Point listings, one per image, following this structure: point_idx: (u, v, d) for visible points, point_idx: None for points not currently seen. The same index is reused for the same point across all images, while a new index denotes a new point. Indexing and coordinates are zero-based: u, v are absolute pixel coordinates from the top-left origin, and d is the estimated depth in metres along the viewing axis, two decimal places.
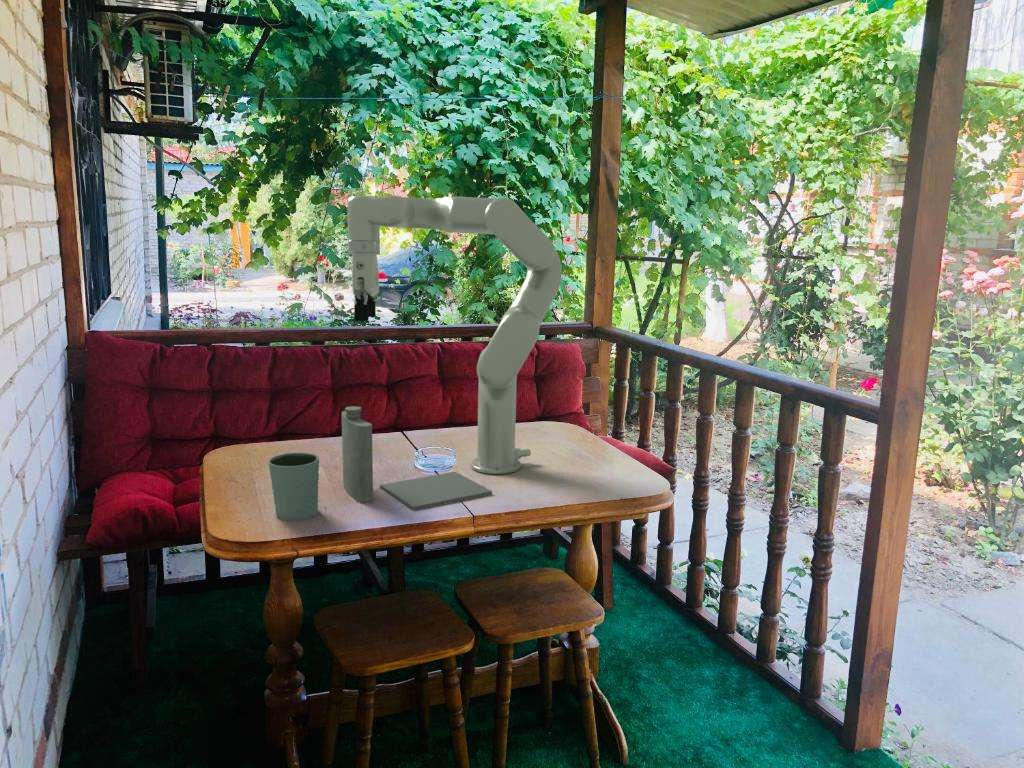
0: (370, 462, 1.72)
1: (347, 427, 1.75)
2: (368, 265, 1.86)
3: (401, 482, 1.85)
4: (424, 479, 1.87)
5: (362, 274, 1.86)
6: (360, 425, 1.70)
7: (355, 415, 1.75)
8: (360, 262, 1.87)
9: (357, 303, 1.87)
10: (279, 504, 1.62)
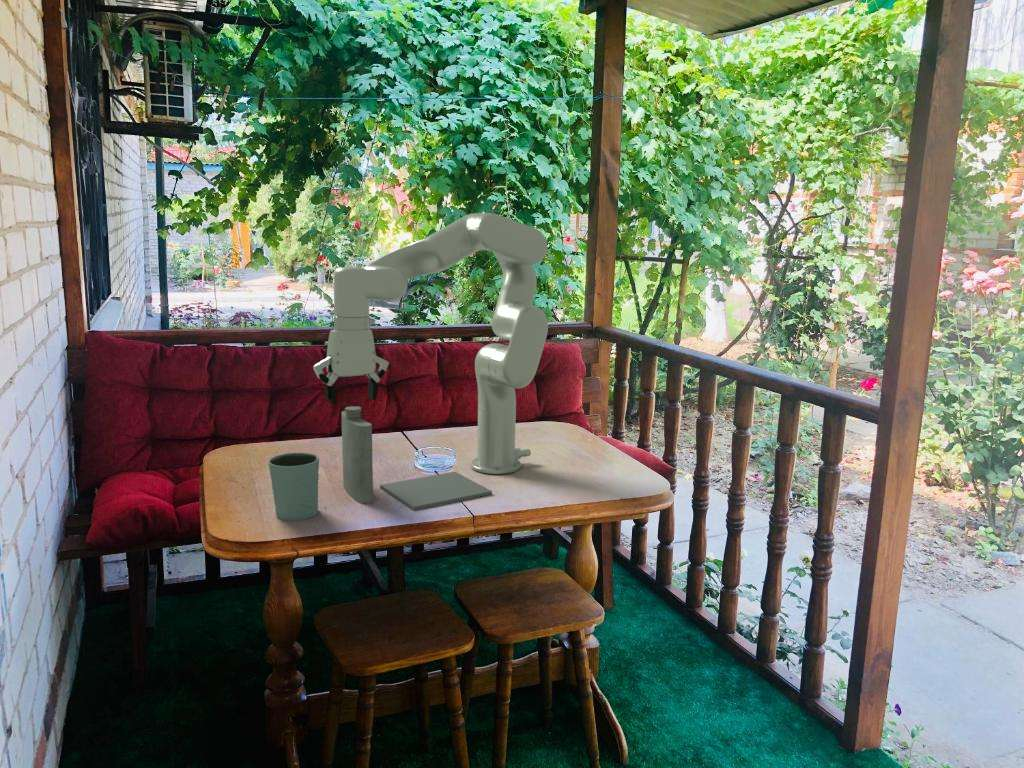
0: (370, 462, 1.72)
1: (347, 427, 1.75)
2: None
3: (401, 482, 1.85)
4: (424, 479, 1.87)
5: None
6: (360, 425, 1.70)
7: (355, 415, 1.75)
8: None
9: None
10: (279, 504, 1.62)
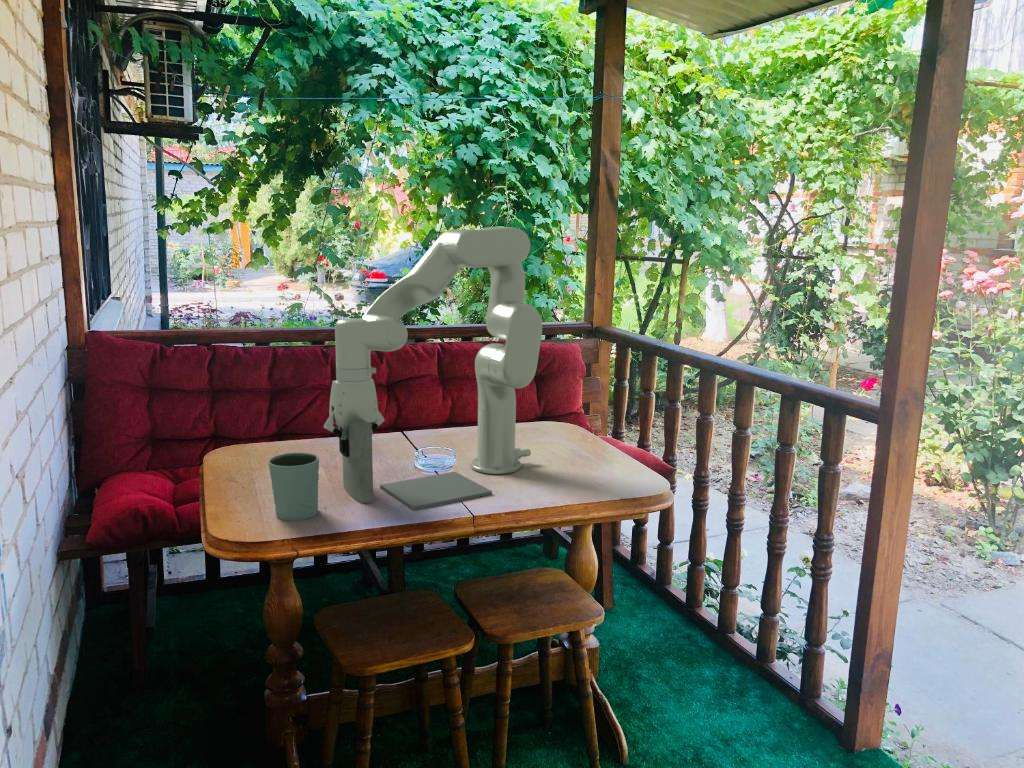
0: (370, 462, 1.72)
1: None
2: None
3: (401, 482, 1.85)
4: (424, 479, 1.87)
5: None
6: (360, 425, 1.70)
7: None
8: None
9: None
10: (279, 504, 1.62)
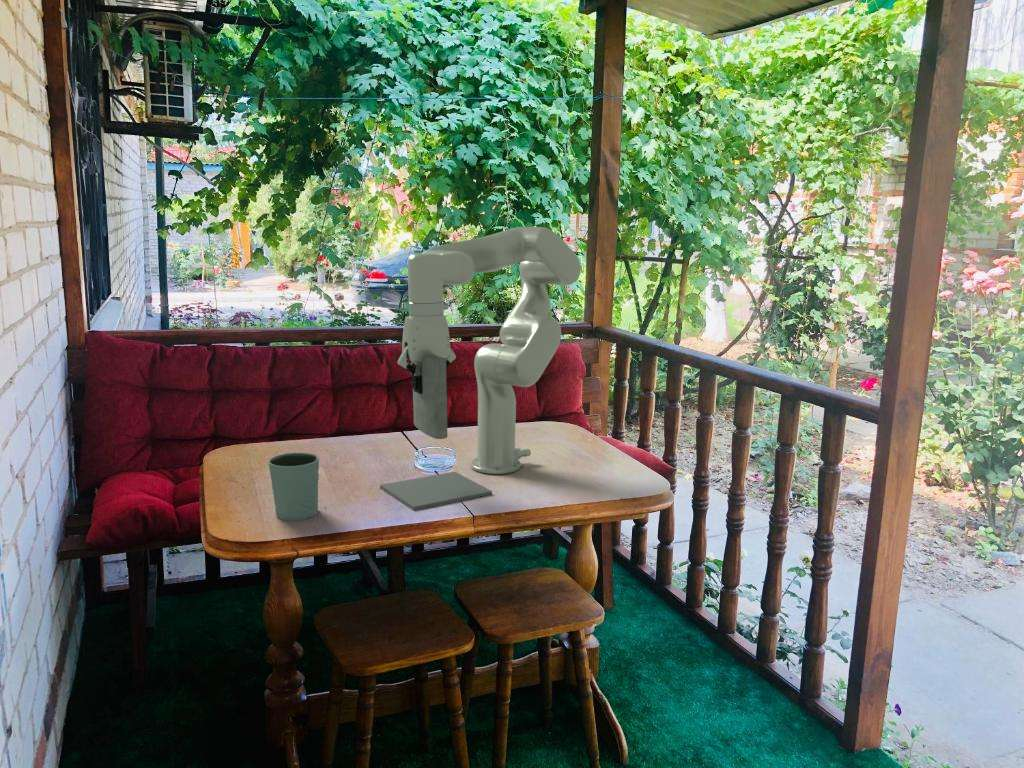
0: (445, 397, 1.71)
1: None
2: None
3: (401, 482, 1.85)
4: (424, 479, 1.87)
5: None
6: (434, 359, 1.69)
7: None
8: None
9: None
10: (279, 504, 1.62)
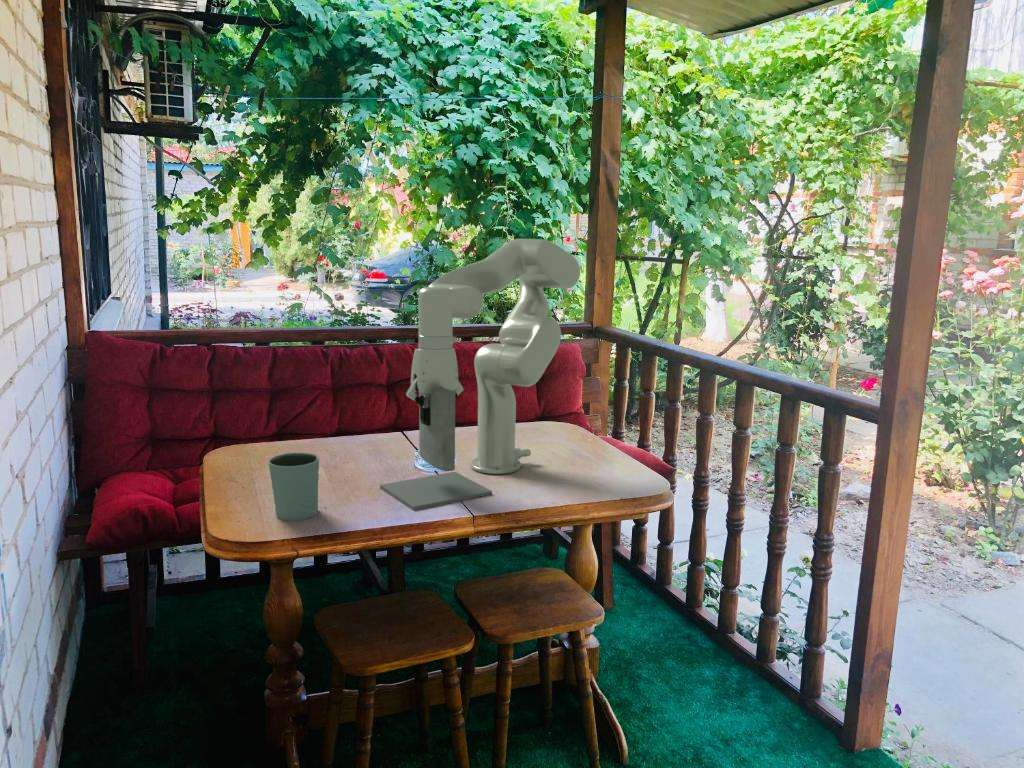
0: (453, 429, 1.72)
1: None
2: None
3: (401, 482, 1.85)
4: (424, 479, 1.87)
5: None
6: (444, 392, 1.70)
7: None
8: None
9: None
10: (279, 504, 1.62)
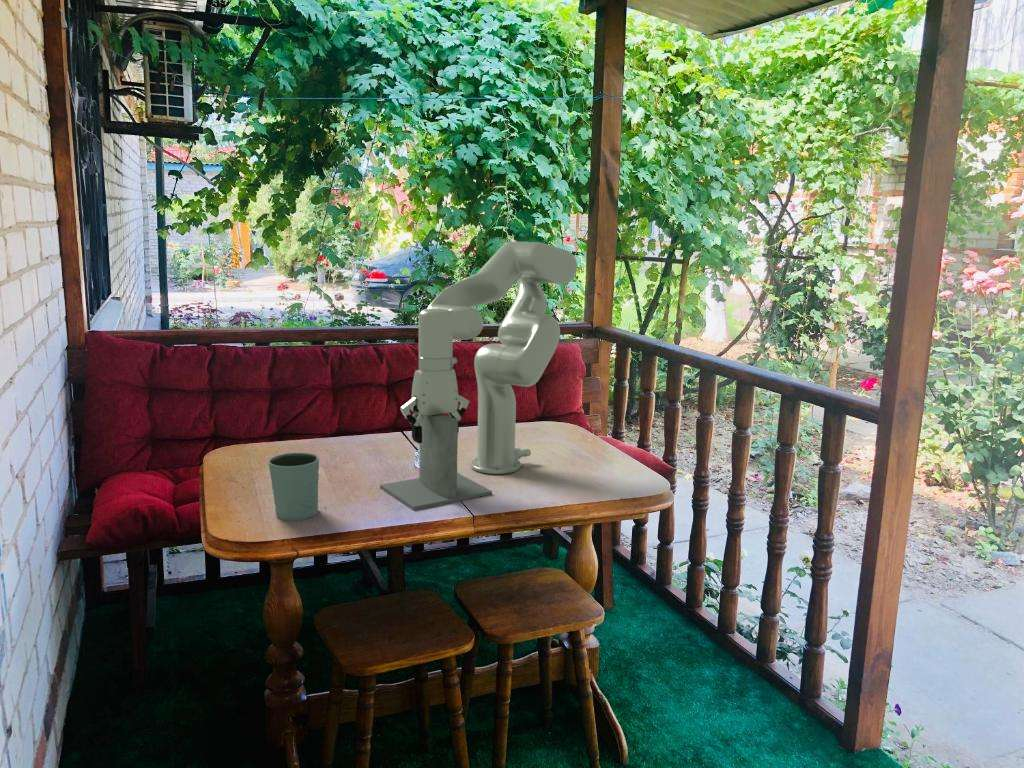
0: (456, 457, 1.74)
1: (430, 423, 1.77)
2: None
3: (401, 482, 1.85)
4: None
5: None
6: (447, 420, 1.72)
7: None
8: None
9: None
10: (279, 504, 1.62)
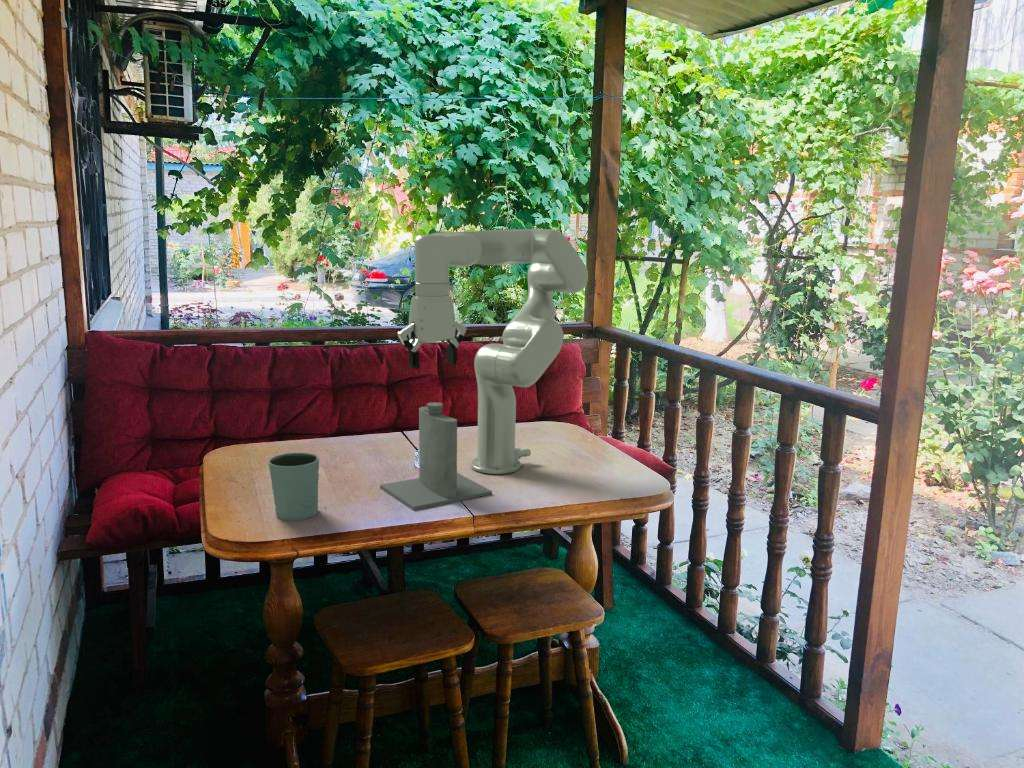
0: (455, 457, 1.74)
1: (429, 423, 1.77)
2: None
3: (401, 482, 1.85)
4: None
5: None
6: (446, 420, 1.72)
7: (437, 411, 1.76)
8: None
9: None
10: (279, 504, 1.62)
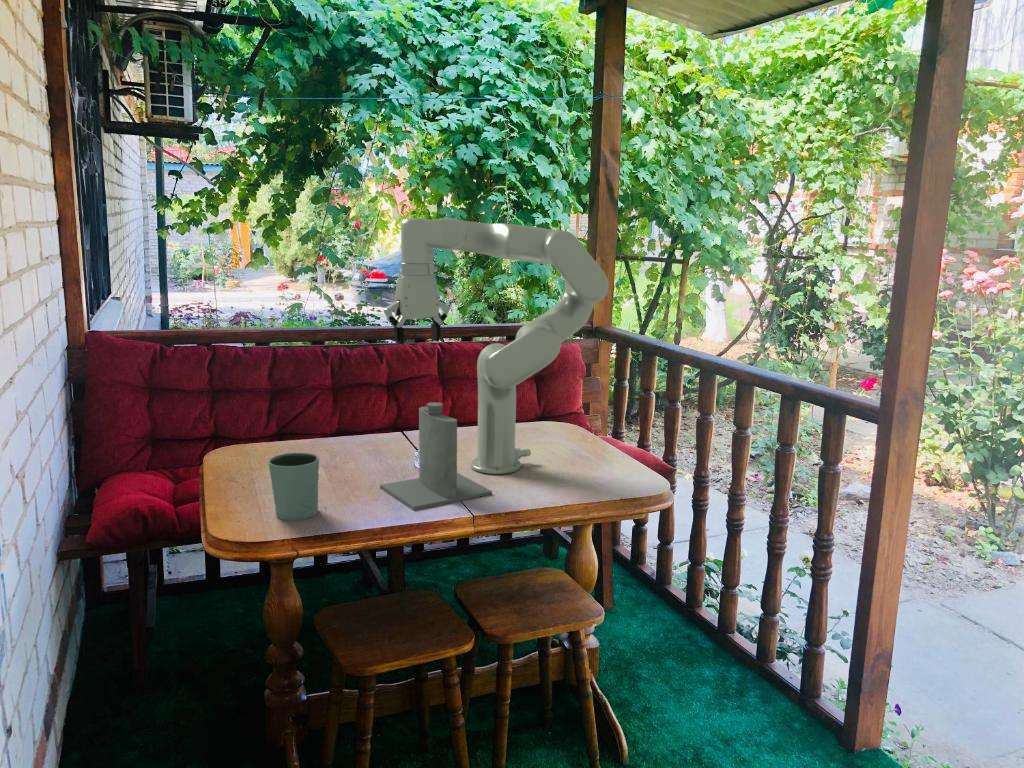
0: (455, 457, 1.74)
1: (429, 423, 1.77)
2: None
3: (401, 482, 1.85)
4: None
5: None
6: (446, 420, 1.72)
7: (437, 411, 1.76)
8: None
9: None
10: (279, 504, 1.62)
